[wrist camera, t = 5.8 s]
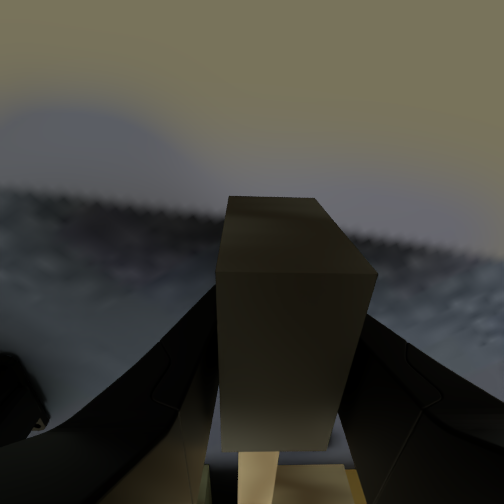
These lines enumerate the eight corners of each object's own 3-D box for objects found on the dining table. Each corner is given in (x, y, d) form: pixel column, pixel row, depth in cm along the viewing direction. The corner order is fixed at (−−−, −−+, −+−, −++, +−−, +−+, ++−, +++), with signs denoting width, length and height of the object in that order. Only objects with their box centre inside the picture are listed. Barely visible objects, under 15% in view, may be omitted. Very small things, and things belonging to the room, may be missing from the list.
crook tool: (230, 480, 18) (226, 597, 14) (228, 196, 9) (215, 271, 5) (337, 479, 19) (367, 592, 14) (439, 201, 10) (607, 277, 5)
